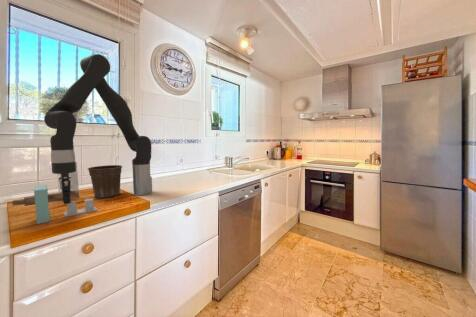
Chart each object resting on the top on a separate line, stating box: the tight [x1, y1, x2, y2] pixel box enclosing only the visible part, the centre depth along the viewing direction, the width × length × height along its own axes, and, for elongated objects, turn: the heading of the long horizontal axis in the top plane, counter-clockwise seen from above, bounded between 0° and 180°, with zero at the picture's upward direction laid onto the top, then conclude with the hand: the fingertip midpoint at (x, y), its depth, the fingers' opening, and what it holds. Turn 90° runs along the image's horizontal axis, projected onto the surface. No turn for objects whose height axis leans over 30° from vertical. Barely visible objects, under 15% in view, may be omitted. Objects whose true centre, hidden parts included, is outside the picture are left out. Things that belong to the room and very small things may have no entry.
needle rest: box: [63, 198, 98, 218], centre depth 88 cm, size 11×4×5 cm, turn 133°
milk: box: [56, 161, 80, 193], centre depth 110 cm, size 6×6×22 cm
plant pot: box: [87, 164, 123, 199], centre depth 115 cm, size 16×16×16 cm
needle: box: [11, 190, 80, 207], centre depth 81 cm, size 19×3×3 cm, turn 132°
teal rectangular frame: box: [33, 184, 51, 225], centre depth 80 cm, size 4×9×13 cm, turn 42°
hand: (66, 202), depth 85 cm, fingers closed on needle, 2 cm apart
